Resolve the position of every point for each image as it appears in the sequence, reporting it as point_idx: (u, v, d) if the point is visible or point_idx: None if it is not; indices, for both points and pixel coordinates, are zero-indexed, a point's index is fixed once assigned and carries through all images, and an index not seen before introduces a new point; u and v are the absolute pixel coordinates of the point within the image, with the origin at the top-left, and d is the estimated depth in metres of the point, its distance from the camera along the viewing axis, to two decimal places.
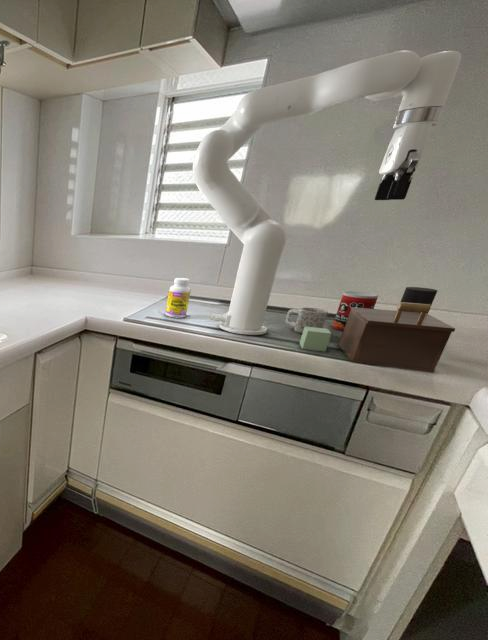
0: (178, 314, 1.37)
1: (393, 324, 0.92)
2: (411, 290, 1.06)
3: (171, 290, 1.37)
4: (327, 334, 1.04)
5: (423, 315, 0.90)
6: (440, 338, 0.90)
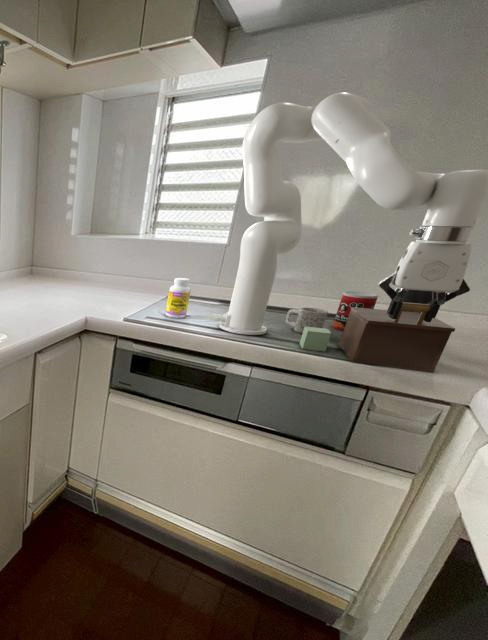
0: (178, 314, 1.37)
1: (393, 324, 0.92)
2: (411, 290, 1.06)
3: (171, 290, 1.37)
4: (327, 334, 1.04)
5: (423, 315, 0.90)
6: (440, 338, 0.90)
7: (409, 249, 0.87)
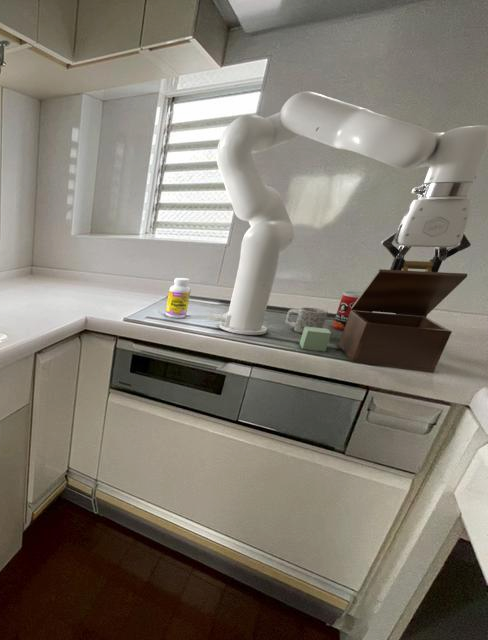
0: (178, 314, 1.37)
1: (405, 271, 0.91)
2: None
3: (171, 290, 1.37)
4: (327, 334, 1.04)
5: (429, 269, 0.91)
6: (440, 338, 0.90)
7: (411, 207, 0.90)
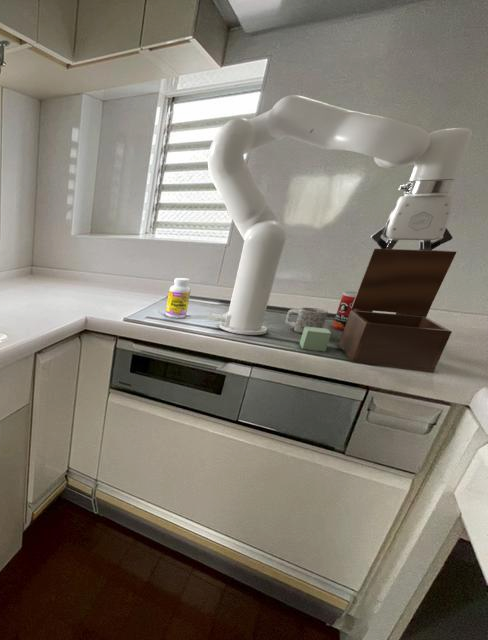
0: (178, 314, 1.37)
1: (398, 249, 0.97)
2: None
3: (171, 290, 1.37)
4: (327, 334, 1.04)
5: None
6: (440, 338, 0.90)
7: (398, 203, 0.97)
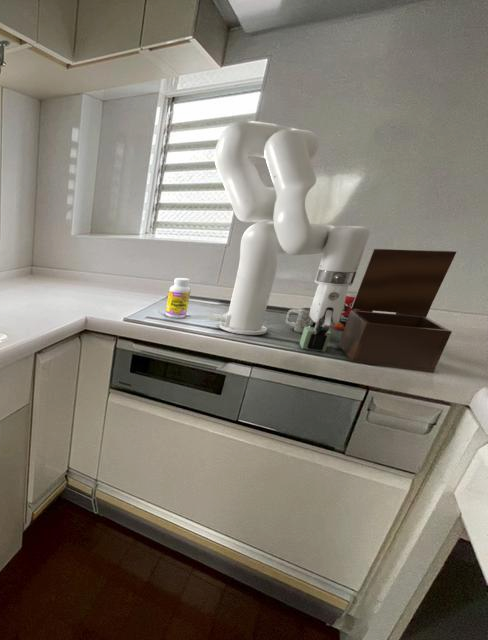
0: (178, 314, 1.37)
1: (398, 249, 0.97)
2: None
3: (171, 290, 1.37)
4: (327, 334, 1.04)
5: None
6: (440, 338, 0.90)
7: (340, 293, 0.98)
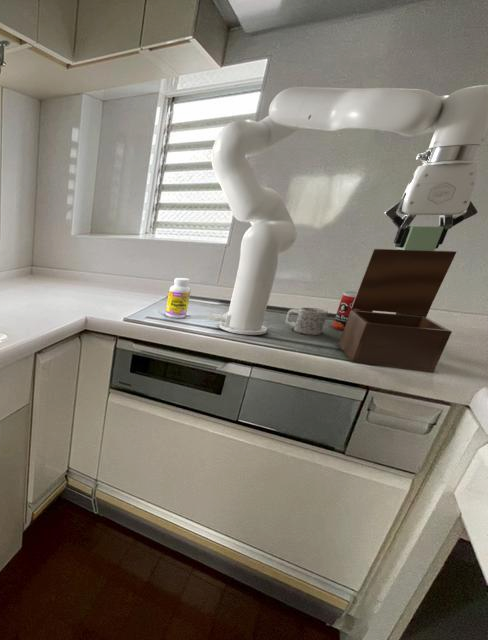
0: (178, 314, 1.37)
1: (398, 249, 0.97)
2: None
3: (171, 290, 1.37)
4: (410, 228, 0.90)
5: None
6: (440, 338, 0.90)
7: (416, 173, 0.87)
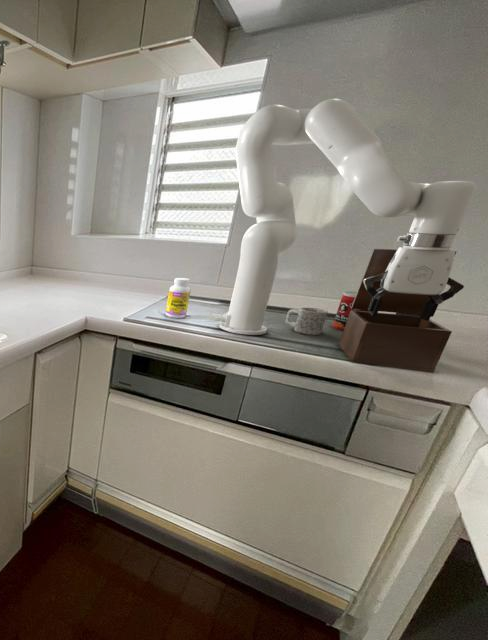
0: (178, 314, 1.37)
1: None
2: None
3: (171, 290, 1.37)
4: None
5: None
6: (440, 338, 0.90)
7: (397, 254, 0.92)
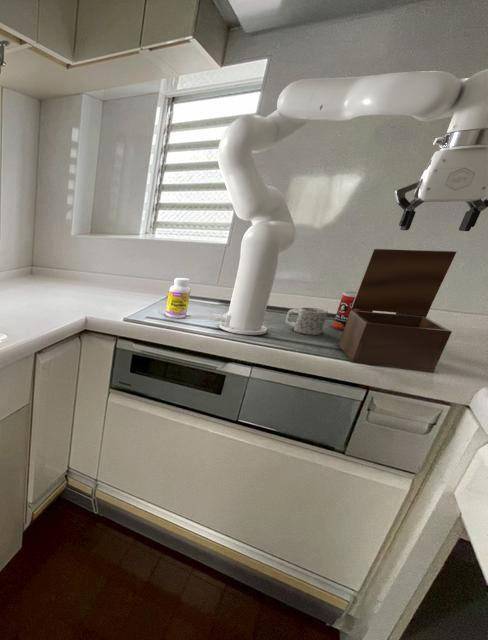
0: (178, 314, 1.37)
1: (398, 249, 0.97)
2: None
3: (171, 290, 1.37)
4: None
5: None
6: (440, 338, 0.90)
7: (433, 159, 0.85)
